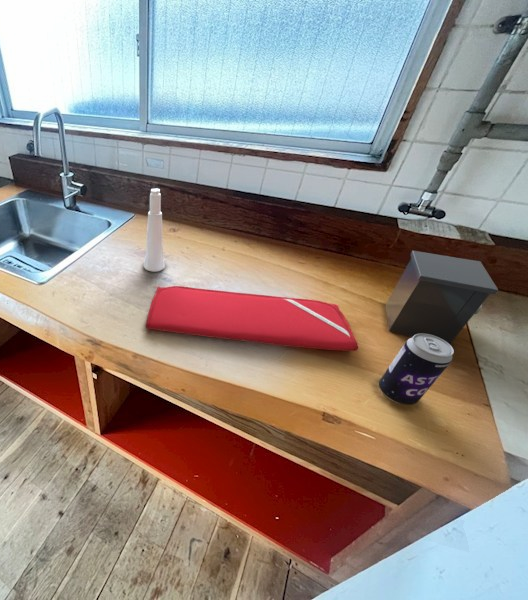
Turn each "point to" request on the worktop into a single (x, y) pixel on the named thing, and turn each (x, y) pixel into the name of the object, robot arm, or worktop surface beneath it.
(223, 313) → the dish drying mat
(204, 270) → the worktop surface
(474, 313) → the flush button
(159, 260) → the cosmetic bottle
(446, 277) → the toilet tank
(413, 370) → the beverage can
